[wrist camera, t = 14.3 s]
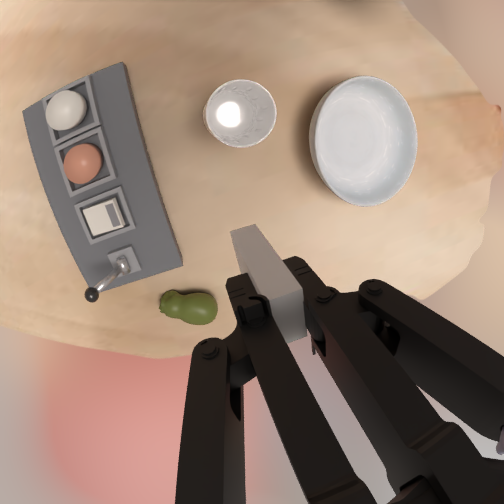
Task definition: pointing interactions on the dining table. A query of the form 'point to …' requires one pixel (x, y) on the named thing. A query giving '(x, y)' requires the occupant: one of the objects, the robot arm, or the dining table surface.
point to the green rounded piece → (189, 307)
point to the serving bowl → (363, 140)
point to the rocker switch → (104, 217)
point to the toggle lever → (107, 279)
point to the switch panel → (105, 182)
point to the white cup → (240, 113)
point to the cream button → (66, 110)
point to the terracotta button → (83, 163)
